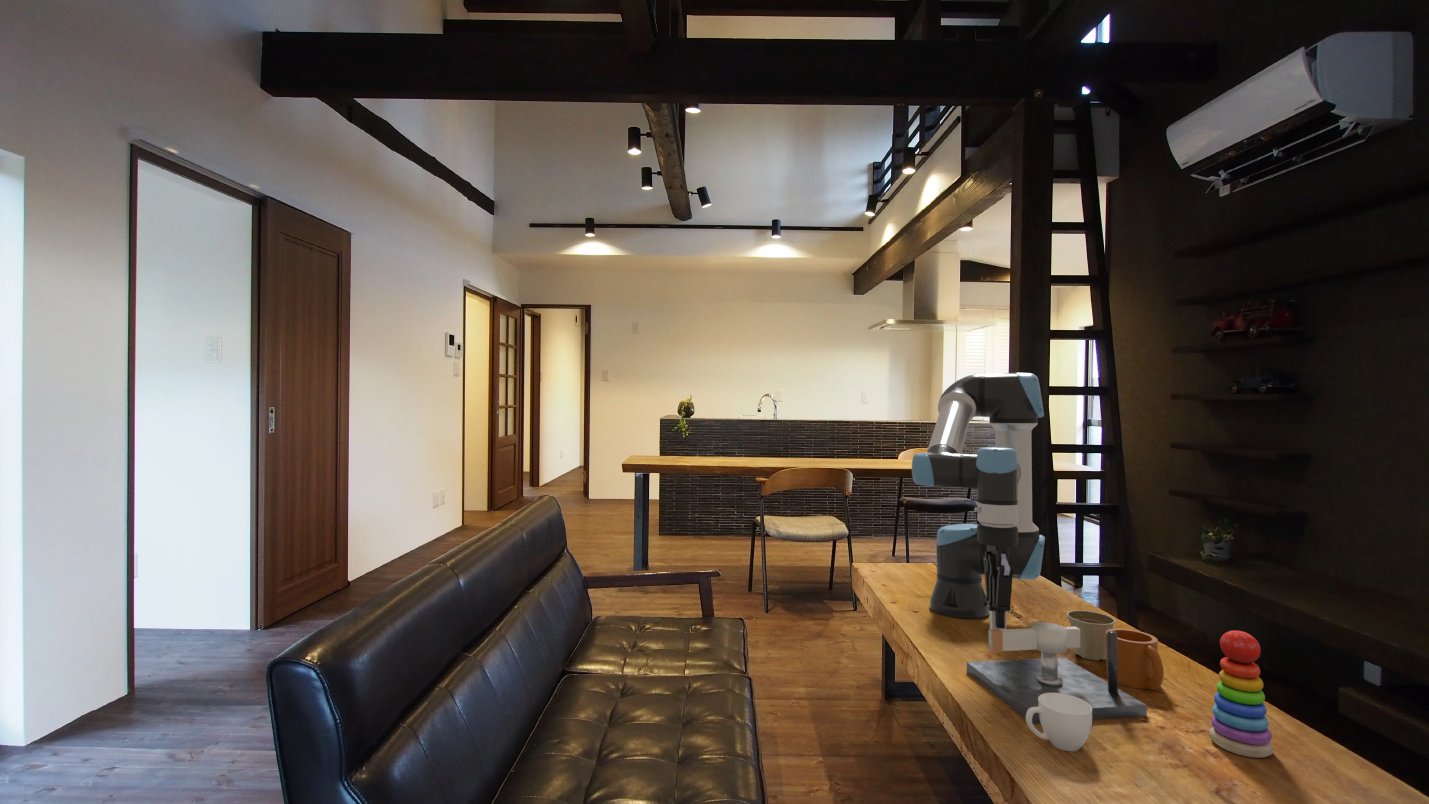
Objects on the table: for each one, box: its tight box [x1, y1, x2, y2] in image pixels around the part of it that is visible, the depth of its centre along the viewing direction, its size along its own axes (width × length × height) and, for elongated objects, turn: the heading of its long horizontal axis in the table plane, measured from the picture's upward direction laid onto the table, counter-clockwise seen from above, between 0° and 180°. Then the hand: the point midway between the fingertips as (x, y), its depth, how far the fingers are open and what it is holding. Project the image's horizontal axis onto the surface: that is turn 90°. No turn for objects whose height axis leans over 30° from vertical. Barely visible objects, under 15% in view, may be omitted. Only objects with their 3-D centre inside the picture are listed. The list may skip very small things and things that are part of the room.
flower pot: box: [1066, 609, 1117, 662], centre depth 140 cm, size 9×9×9 cm
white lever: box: [988, 621, 1080, 655], centre depth 121 cm, size 18×6×4 cm, turn 97°
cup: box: [1025, 693, 1093, 752], centre depth 102 cm, size 8×10×7 cm
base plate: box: [966, 631, 1148, 724], centre depth 122 cm, size 22×22×13 cm
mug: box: [1105, 628, 1165, 691], centre depth 126 cm, size 9×12×9 cm
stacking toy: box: [1208, 630, 1274, 759], centre depth 102 cm, size 8×8×19 cm
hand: (998, 642), depth 126 cm, fingers closed
